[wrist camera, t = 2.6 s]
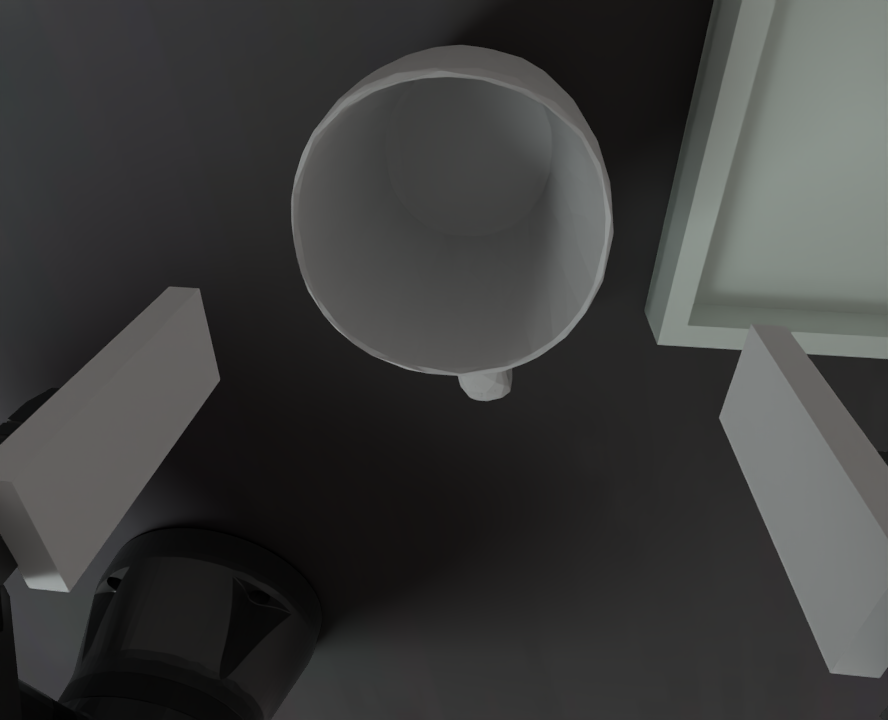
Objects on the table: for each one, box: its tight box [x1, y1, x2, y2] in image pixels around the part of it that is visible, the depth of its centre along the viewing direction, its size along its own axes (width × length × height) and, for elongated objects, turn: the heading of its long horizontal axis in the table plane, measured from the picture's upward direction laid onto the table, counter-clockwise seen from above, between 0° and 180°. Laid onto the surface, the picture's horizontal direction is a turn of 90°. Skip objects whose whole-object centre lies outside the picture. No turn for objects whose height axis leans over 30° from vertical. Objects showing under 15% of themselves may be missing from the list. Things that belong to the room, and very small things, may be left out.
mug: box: [291, 45, 614, 401], centre depth 22 cm, size 13×9×10 cm
